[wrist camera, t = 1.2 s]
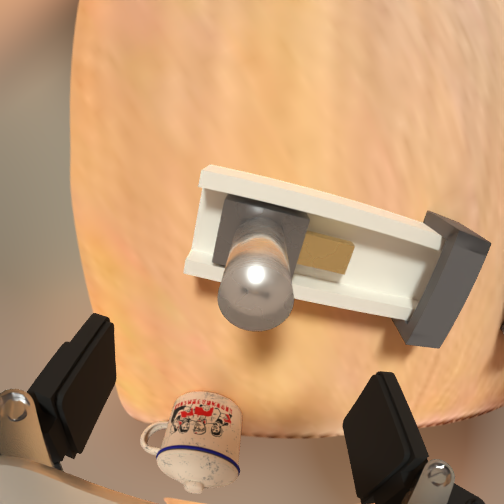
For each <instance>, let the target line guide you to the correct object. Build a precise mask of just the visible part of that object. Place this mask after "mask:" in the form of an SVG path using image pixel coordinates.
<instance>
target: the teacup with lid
mask: <svg viewBox="0 0 504 504" xmlns="http://www.w3.org/2000/svg"><path fill="white" fill-rule="evenodd" d="M241 428H242V412H241V410H240V408H239V407H238V406H237V405H236V404H235V403H234V402H233V401H232V400H230V399H228V398H226V397H224V396H222V395H219V394H216V393H212V392H206V391H194V392H189V393H186V394H183V395H181V396H180V397H179V398H178V399H177V400H176V401H175V403H174V406H173V409H172V412H171V416H170V419H169V421H159V422H155V423H153V424H151V425H149V426H148V427H147V428H146V429H145V430H144V432H143V433H142V435H141V438H140V443H141V445H142V447H143V449H144V450H145V451H146V452H148V453H150V454H152V455H156V459H157V464H158V466H159V468H160V469H161V470H162V471H163V472H164V473H165V474H166V475H168V476H169V477H171V478H173V479H175V480H177V481H179V482H181V483H182V484H184V488H185V490H186V491H188V492H190V493H195V494H198V493H201V492H202V491H203V488H215V487H223V486H226V485H229V484H231V483H233V482H234V481H235V480H236V479H237V477H238V476H239V473H240V468H239V466H238V460H239V450H240V439H241ZM161 429H166V432H165V436H164V439H163V443H162V446H161V448H156V447H151V446H149V445H147V442H148V439H149V437H150V436H151V435H152V434H153V433H154V432H156V431H158V430H161Z"/></svg>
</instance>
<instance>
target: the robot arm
mask: <svg viewBox="0 0 504 504" xmlns="http://www.w3.org/2000/svg"><path fill="white" fill-rule="evenodd" d="M115 382H116V363H115V343H114V324H113V323H111V322H110V319H109V318H108V317H106V316H102V315H99V314H96V313H93V314H92V315H91V316H90V318H89V319H88V320H87V321H86V322H85V324H84V325H83V326H82V327H81V329H80V330H79V331H78V332H77V334H76V335H75V336H74V338H73V339H72V340H71V342H65V343H64V344H63V345H62V346H61V347H60V348H59V349H58V351H57V352H56V353H55V355H54V356H53V357H52V359H51V360H50V361H49V362H48V364H47V365H46V367H45V368H44V370H43V371H42V372H41V373H40V375H39V376H38V377H37V379H36V380H35V381H34V383H33V384H32V386H31V387H30V388H29V390H28V391H27V393H26V392H25V391H23V390H19V389H8V390H5V391H3V392H2V393H0V504H158V503H154V502H150V501H147V500H143V499H139V498H136V497H132V496H130V495H126V494H123V493H120V492H117V491H114V490H111V489H108V488H105V487H102V486H99V485H97V484H94V483H91V482H89V481H86V480H84V479H81V478H79V477H76V476H73V475H71V474H68V473H65V472H64V471H63V468H62V465H61V463H60V461H63V458H64V456H65V455H66V456H68V457H71V458H73V459H74V458H75V456H76V454H77V453H79V454H81V453H82V452H83V449H84V447H85V445H86V443H87V440H88V439H89V436H90V434H91V432H92V430H93V428H94V426H95V424H96V422H97V419H98V417H99V415H100V413H101V411H102V409H103V407H104V405H105V403H106V401H107V399H108V397H109V395H110V393H111V391H112V389H113V387H114V385H115ZM343 430H344V435H345V439H346V444H347V449H348V454H349V459H350V464H351V469H352V474H353V479H354V483H355V489H356V494H357V497H358V498H360V499H361V504H371V503H375V504H485V503H484V502H483V500H481V499H480V498H479V497H477V496H475V495H474V494H472V493H470V492H468V491H466V490H465V489H463V488H461V487H460V486H458V485H456V484H455V483H454V479H455V476H454V472H453V470H452V468H451V467H450V465H449V464H448V463H446V462H445V461H442V460H439V459H434V460H430V461H429V462H428V460H427V457H428V456H429V455H428V452H427V450H426V447H425V445H424V442H423V440H422V437H421V435H420V432H419V430H418V427H417V425H416V422H415V420H414V418H413V415H412V413H411V411H410V408H409V406H408V404H407V401H406V399H405V397H404V394H403V392H402V390H401V388H400V385H399V383H398V381H397V379H396V377H395V375H394V373H392V372H381V371H380V372H377V373H376V375H373V376H372V377H371V378H370V380H369V382H368V383H367V385H366V387H365V388H364V390H363V391H362V393H361V394H360V396H359V398H358V399H357V401H356V402H355V404H354V405H353V407H352V408H351V410H350V411H349V413H348V414H347V416H346V417H345V419H344V421H343Z"/></svg>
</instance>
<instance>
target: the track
mask: <svg viewBox="0 0 504 504" xmlns="http://www.w3.org/2000/svg"><path fill="white" fill-rule="evenodd" d="M198 187H202V194H201V199H200V204H199V210H198V215H197V221H196V226H195V232H194V238H193V244H192V250H191V251H190V253H189V255H188V256H187V258H186V261H185V267H184V274H189V275H193V276H197V277H201V278H205V279H209V280H214V281H218V282H221V280H222V277H223V273H224V270H225V265H221V264H217V263H212V258H213V253H214V248H215V243H216V238H217V233H218V229H219V224H220V219H221V214H222V209H223V205H224V200H225V198H226V196H227V194H233V195H237V196H241V197H246V198H250V199H254V200H258V201H263V202H267V203H271V204H275V205H279V206H283V207H287V208H291V209H295V210H299V211H303V212H307V214H308V217H309V219H310V222H309V225H308V228H307V230H308V231H312V232H316V233H320V234H324V235H328V236H332V237H335V238H339V239H343V240H347V241H351V242H352V243H353V244H354V246H355V248H354V251H353V254H352V256H351V259H350V262H349V264H348V267H347V270H346V272H345V275H343V274H339V273H335V272H330V271H326V270H322V269H317V268H313V267H309V266H304V265H300V264H296V267H295V270H294V274H293V277H292V287H293V294H294V299H299V300H304V301H308V302H313V303H318V304H323V305H328V306H333V307H338V308H343V309H348V310H353V311H359V312H364V313H369V314H374V315H380V316H385V317H391V319H392V320H393V322H394V324H395V326H396V327H397V329H398V331H399V333H400V335H401V336H402V338H403V340H404V342H405V344H406V345H414V346H422V347H431V348H440V347H441V345H442V343H443V342H444V340H445V338H446V336H447V335H448V333H449V331H450V330H451V328H452V326H453V324H454V322H455V321H456V319H457V317H458V315H459V313H460V311H461V309H462V307H463V305H464V304H465V302H466V300H467V298H468V296H469V293H470V291H471V289H472V287H473V285H474V283H475V281H476V279H477V277H478V274H479V272H480V270H481V268H482V265H483V263H484V261H485V258H486V256H487V253H488V251H489V248H490V246H491V243H490V242H489V241H487V240H486V239H484V238H483V237H481V236H480V235H478V234H476V233H475V232H473V231H472V230H470V229H468V228H467V227H465V226H464V225H462V224H460V223H459V222H456V221H454V220H451V219H449V218H446V217H443V216H441V215H438V214H436V213H433V212H430V211H427V214H426V216H425V219H424V222H423V223H422V222H419V221H416V220H413V219H410V218H407V217H405V216H402V215H398V214H395V213H392V212H389V211H386V210H383V209H380V208H377V207H374V206H370V205H367V204H364V203H361V202H357V201H354V200H350V199H347V198H344V197H340V196H337V195H333V194H330V193H326V192H323V191H319V190H315V189H312V188H308V187H304V186H300V185H297V184H293V183H289V182H285V181H281V180H277V179H273V178H269V177H265V176H260V175H256V174H252V173H248V172H243V171H239V170H234V169H230V168H225V167H220V166H216V165H211V164H210V165H209V166H207V167H205V168H204V169H202V170H201V175H200V180H199V185H198Z"/></svg>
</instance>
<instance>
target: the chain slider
mask: <svg viewBox="0 0 504 504" xmlns="http://www.w3.org/2000/svg"><path fill="white" fill-rule="evenodd" d="M309 222H310V219H309V217H308V214H307V212H303V211H299V210H295V209H291V208H287V207H283V206H279V205H275V204H271V203H267V202H263V201H258V200H254V199H250V198H246V197H241V196H237V195H233V194H227V196H226V198H225V200H224V205H223V209H222V214H221V219H220V224H219V229H218V233H217V238H216V243H215V248H214V253H213V258H212V263H217V264H221V265H225V270H224V273H223V277H222V280H221V284H220V287H219V291H218V305H219V308H220V310H221V312H222V314H223V315H224V317H225V318H226V319H227V320H228V321H229V322H230V323H232V324H233V325H235V326H237V327H239V328H241V329H244V330H248V331H265V330H269V329H272V328H274V327H276V326H278V325H280V324H281V323H282V322H283V321H285V320H286V318H287V317H288V316H289V314H290V313H291V311H292V308H293V304H294V294H293V287H292V277H293V274H294V270H295V267H296V264H300V265H304V266H309V267H313V268H317V269H322V270H326V271H330V272H335V273H339V274H343V275H345V272H346V270H347V267H348V264H349V262H350V259H351V256H352V254H353V251H354V248H355V246H354V244H353V243H352V242H351V241H347V240H343V239H339V238H335V237H332V236H328V235H324V234H320V233H316V232H312V231H308V230H307V228H308V225H309Z"/></svg>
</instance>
